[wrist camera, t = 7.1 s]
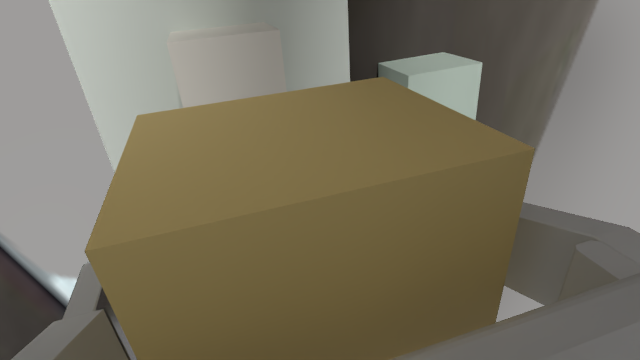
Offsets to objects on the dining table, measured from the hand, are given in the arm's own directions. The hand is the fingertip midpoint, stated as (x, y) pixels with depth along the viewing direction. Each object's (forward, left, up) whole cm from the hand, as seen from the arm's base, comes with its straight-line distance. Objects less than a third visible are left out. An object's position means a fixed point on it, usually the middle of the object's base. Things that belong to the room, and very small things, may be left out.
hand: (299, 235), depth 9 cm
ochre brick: (0, 0, -2) cm, 2 cm away
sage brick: (+4, +15, -21) cm, 26 cm away
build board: (0, 0, -21) cm, 21 cm away
